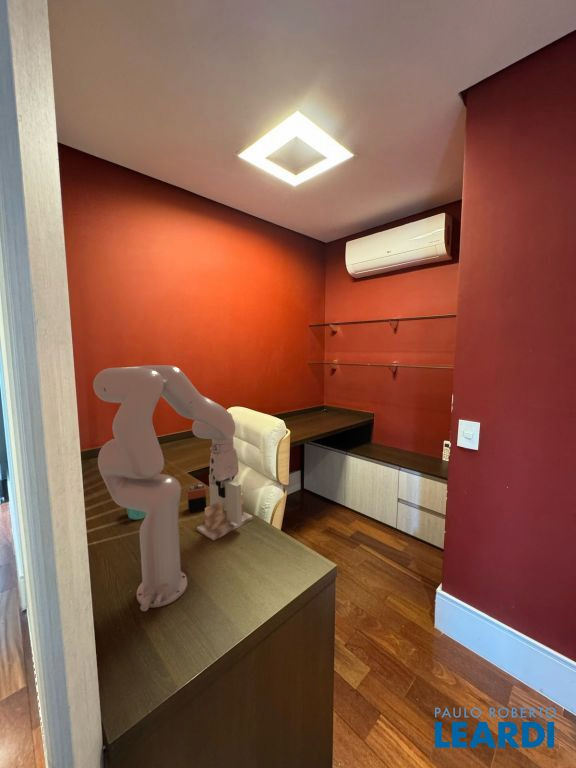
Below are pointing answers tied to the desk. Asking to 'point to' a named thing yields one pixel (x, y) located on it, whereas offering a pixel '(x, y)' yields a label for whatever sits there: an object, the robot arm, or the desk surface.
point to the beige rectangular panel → (228, 499)
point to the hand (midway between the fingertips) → (224, 495)
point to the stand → (220, 521)
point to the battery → (196, 498)
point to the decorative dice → (135, 514)
